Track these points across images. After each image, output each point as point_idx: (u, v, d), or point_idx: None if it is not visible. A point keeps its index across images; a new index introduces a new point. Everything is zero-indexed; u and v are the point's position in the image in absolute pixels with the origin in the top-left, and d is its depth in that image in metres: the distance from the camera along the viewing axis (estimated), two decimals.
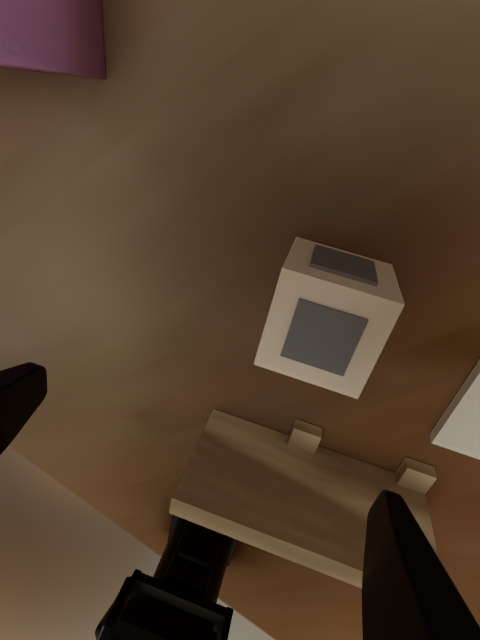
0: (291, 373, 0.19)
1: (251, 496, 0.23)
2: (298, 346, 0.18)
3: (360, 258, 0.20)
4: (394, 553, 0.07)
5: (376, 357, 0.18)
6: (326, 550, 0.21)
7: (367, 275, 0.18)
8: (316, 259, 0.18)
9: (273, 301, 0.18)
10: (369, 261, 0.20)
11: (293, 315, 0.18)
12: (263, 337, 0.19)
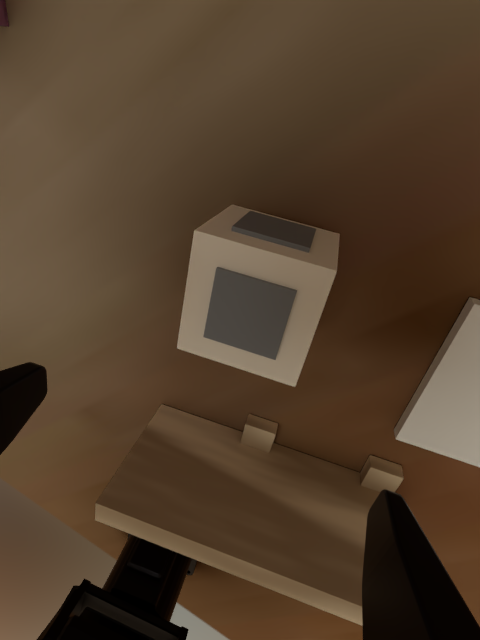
0: (219, 357, 0.17)
1: (190, 500, 0.21)
2: (222, 325, 0.16)
3: (300, 225, 0.17)
4: (394, 553, 0.07)
5: (311, 336, 0.15)
6: (269, 562, 0.19)
7: (300, 240, 0.15)
8: (242, 223, 0.16)
9: (189, 272, 0.15)
10: (310, 228, 0.17)
11: (212, 288, 0.15)
12: (183, 316, 0.16)
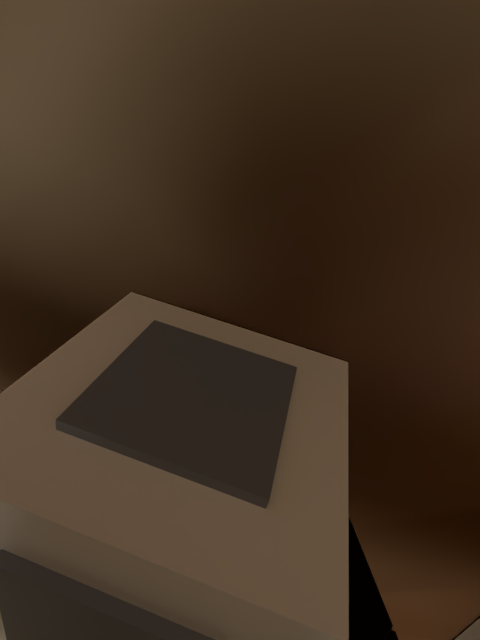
0: None
1: None
2: None
3: (261, 362, 0.08)
4: None
5: None
6: None
7: (246, 454, 0.06)
8: (99, 393, 0.06)
9: None
10: (282, 371, 0.08)
11: None
12: None
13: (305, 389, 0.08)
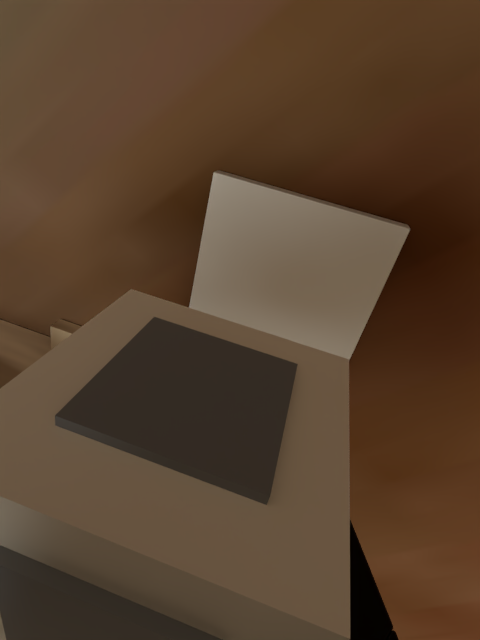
0: None
1: None
2: None
3: (261, 359, 0.08)
4: None
5: None
6: None
7: (246, 450, 0.06)
8: (99, 389, 0.06)
9: None
10: (283, 368, 0.08)
11: None
12: None
13: (306, 386, 0.08)
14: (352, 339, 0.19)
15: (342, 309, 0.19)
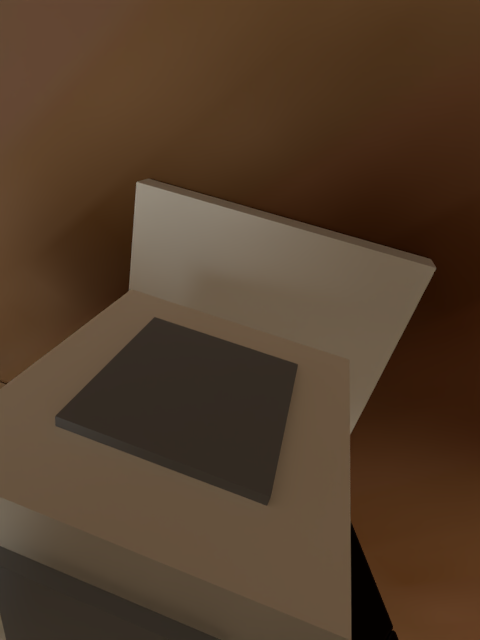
0: None
1: None
2: None
3: (262, 359, 0.08)
4: None
5: None
6: None
7: (247, 450, 0.06)
8: (99, 390, 0.06)
9: None
10: (283, 368, 0.07)
11: None
12: None
13: (306, 386, 0.07)
14: None
15: None
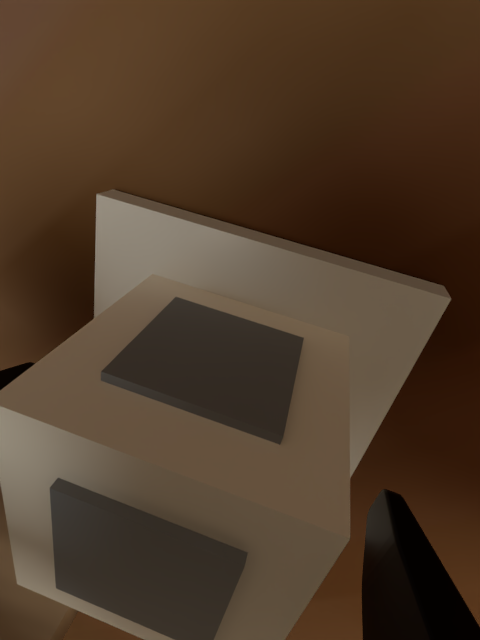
0: (98, 614, 0.08)
1: None
2: (88, 580, 0.07)
3: (271, 333, 0.09)
4: (394, 553, 0.07)
5: (284, 631, 0.06)
6: None
7: (262, 402, 0.07)
8: (135, 353, 0.07)
9: (2, 476, 0.06)
10: (291, 340, 0.09)
11: (53, 517, 0.06)
12: (13, 542, 0.07)
13: (311, 356, 0.08)
14: None
15: None
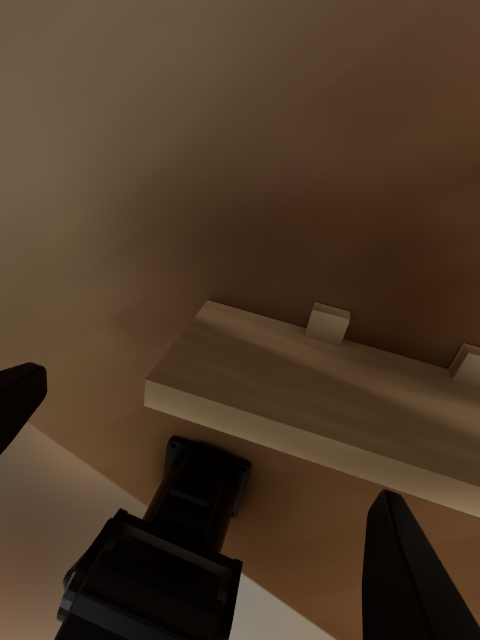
0: None
1: (258, 382, 0.17)
2: None
3: None
4: (394, 553, 0.07)
5: None
6: (367, 443, 0.15)
7: None
8: None
9: None
10: None
11: None
12: None
13: None
14: None
15: None
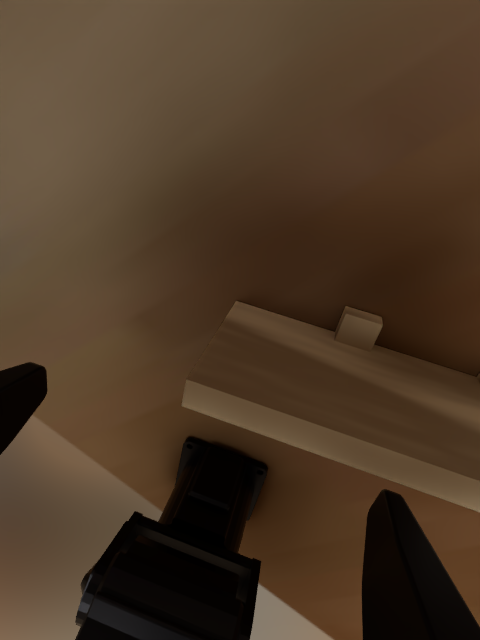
0: None
1: (296, 386, 0.17)
2: None
3: None
4: (394, 553, 0.07)
5: None
6: (410, 449, 0.15)
7: None
8: None
9: None
10: None
11: None
12: None
13: None
14: None
15: None
